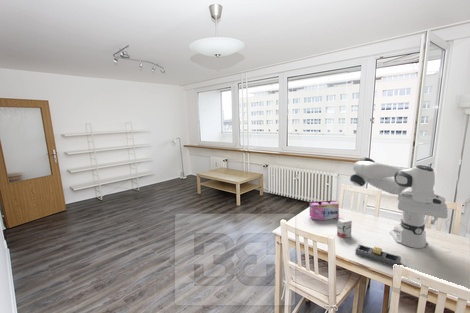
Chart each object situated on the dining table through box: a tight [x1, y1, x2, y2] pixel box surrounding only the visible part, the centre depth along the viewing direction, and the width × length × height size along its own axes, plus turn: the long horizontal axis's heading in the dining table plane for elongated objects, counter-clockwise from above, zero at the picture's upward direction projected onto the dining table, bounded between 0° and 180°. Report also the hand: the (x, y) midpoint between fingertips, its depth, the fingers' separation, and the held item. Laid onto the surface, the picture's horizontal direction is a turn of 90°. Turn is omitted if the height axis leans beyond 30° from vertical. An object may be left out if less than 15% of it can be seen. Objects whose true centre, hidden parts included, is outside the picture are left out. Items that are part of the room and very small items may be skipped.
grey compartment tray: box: [355, 243, 402, 267], centre depth 134 cm, size 22×7×4 cm, turn 46°
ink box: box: [336, 217, 353, 238], centre depth 161 cm, size 9×5×12 cm, turn 106°
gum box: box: [309, 200, 340, 220], centre depth 191 cm, size 24×8×14 cm, turn 90°
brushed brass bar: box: [372, 246, 383, 256], centre depth 134 cm, size 4×4×6 cm
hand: (420, 221), depth 118 cm, fingers open, 8 cm apart
